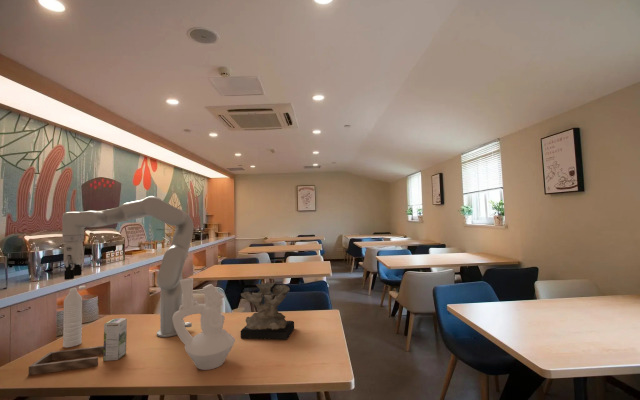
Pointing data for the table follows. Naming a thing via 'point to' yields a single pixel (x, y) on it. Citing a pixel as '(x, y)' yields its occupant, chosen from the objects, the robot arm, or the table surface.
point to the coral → (267, 314)
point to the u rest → (47, 367)
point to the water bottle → (72, 318)
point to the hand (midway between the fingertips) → (73, 277)
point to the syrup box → (115, 339)
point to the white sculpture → (203, 327)
